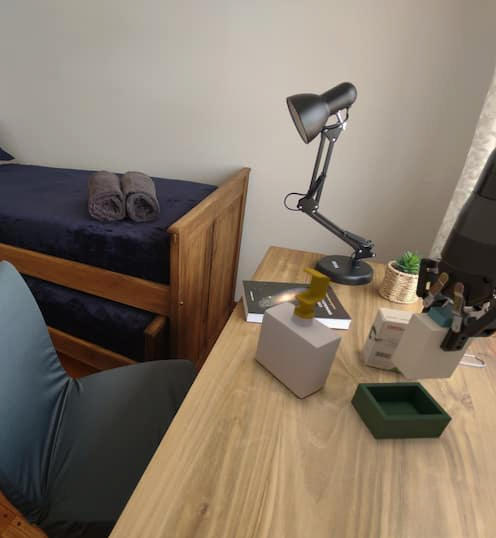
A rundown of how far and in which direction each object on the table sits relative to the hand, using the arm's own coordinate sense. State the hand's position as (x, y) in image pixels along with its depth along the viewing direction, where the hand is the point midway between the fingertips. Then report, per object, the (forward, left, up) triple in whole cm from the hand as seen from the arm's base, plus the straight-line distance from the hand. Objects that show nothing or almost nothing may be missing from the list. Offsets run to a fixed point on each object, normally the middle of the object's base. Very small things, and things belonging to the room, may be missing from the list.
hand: (435, 338), depth 52 cm
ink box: (-7, -13, -18) cm, 23 cm away
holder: (0, 0, -18) cm, 18 cm away
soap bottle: (+14, -11, -18) cm, 26 cm away
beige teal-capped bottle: (0, 0, -6) cm, 6 cm away
